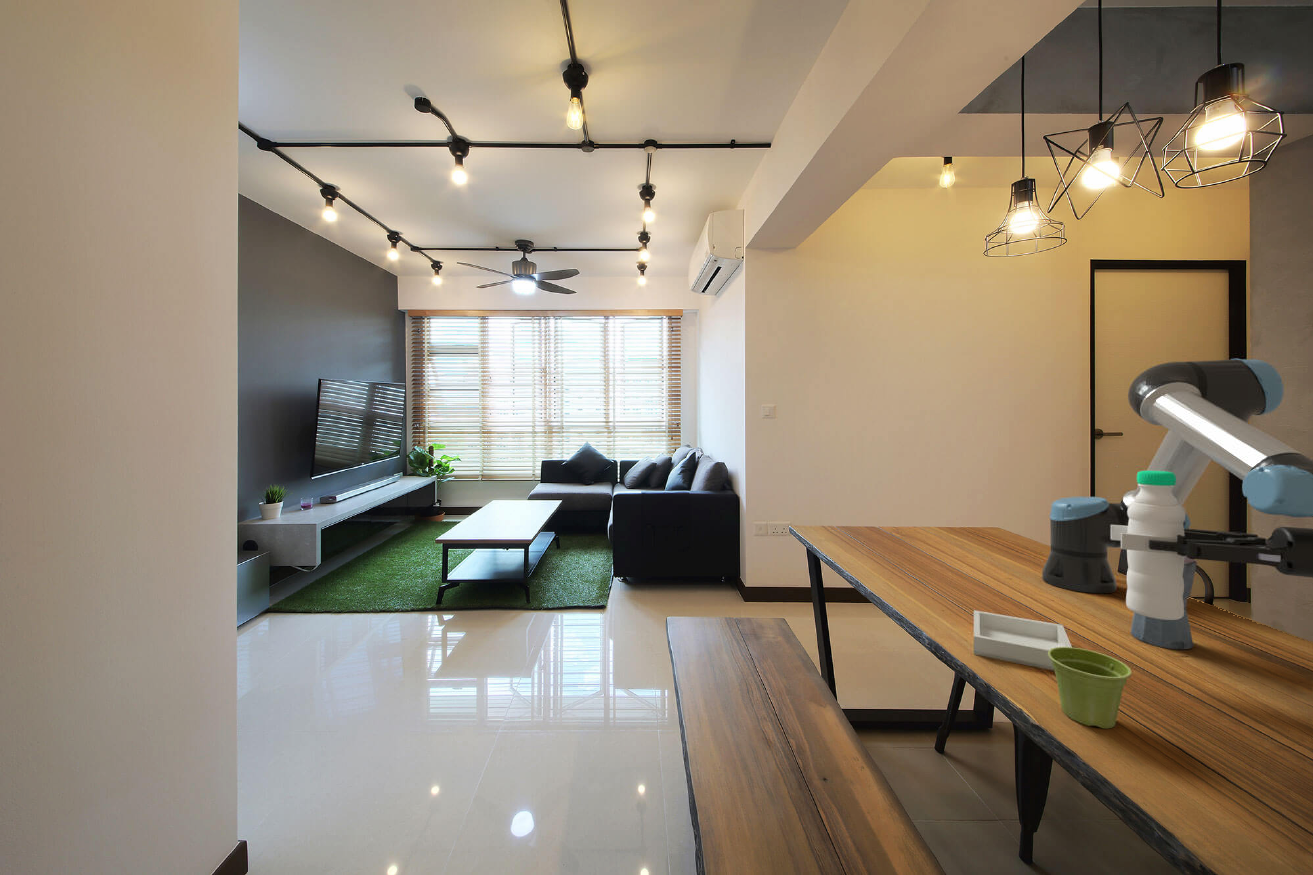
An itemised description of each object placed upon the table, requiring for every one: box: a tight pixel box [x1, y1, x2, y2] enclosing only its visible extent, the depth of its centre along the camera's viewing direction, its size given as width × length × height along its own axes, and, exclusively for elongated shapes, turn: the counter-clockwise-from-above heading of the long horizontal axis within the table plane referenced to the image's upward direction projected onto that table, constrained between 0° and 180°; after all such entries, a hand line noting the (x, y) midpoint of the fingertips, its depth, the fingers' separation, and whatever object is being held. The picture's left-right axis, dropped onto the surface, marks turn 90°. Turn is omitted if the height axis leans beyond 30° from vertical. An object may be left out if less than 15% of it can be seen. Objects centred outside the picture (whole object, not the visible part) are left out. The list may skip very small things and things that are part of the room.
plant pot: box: [1048, 646, 1132, 729], centre depth 73 cm, size 9×9×9 cm
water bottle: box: [1125, 470, 1185, 620], centre depth 84 cm, size 7×7×25 cm
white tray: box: [973, 610, 1073, 672], centre depth 96 cm, size 15×15×4 cm
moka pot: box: [1130, 556, 1198, 650], centre depth 98 cm, size 10×15×20 cm, turn 137°
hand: (1116, 536), depth 87 cm, fingers closed on water bottle, 7 cm apart
